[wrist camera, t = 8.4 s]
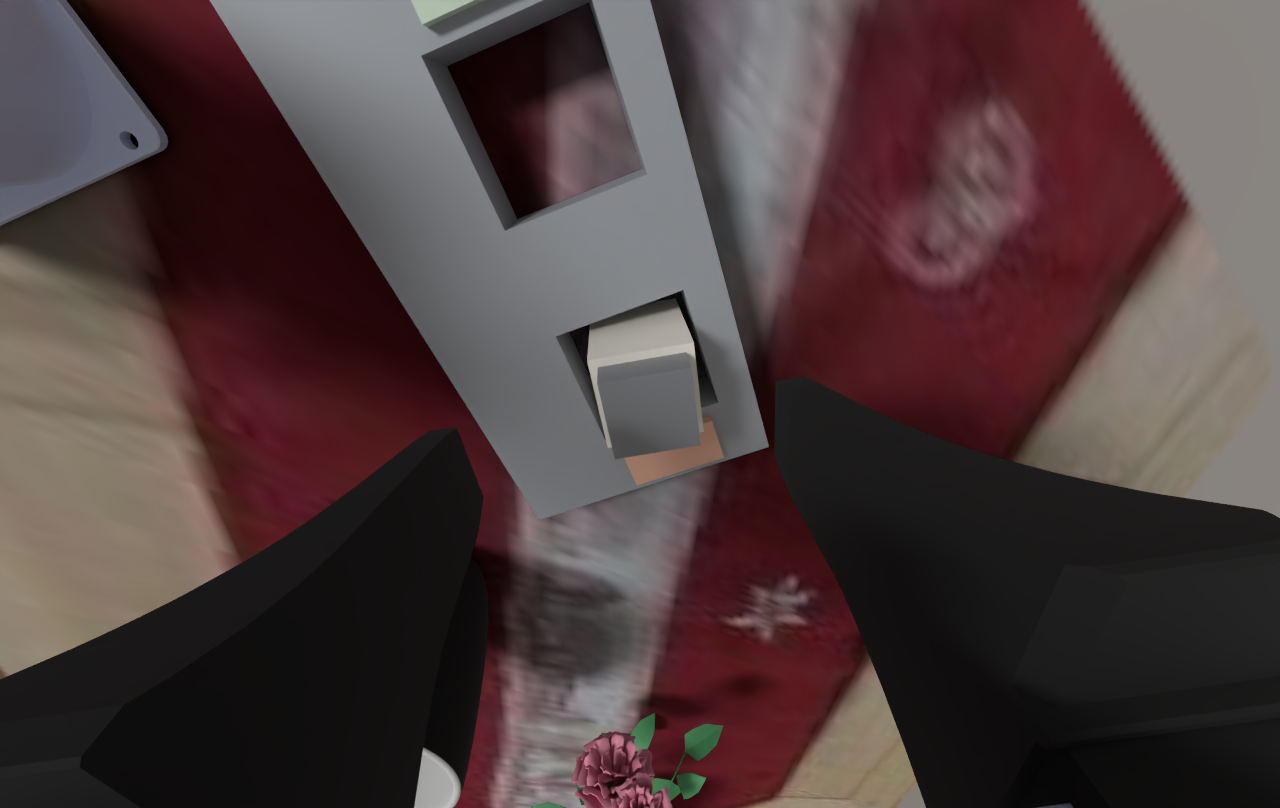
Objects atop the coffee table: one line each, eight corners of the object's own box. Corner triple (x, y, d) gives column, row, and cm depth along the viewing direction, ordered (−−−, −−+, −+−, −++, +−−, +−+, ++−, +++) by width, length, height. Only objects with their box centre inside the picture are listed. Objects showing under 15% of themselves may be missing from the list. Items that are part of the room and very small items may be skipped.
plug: (607, 387, 22) (607, 467, 17) (590, 313, 20) (585, 377, 15) (685, 374, 22) (709, 450, 17) (675, 298, 20) (700, 357, 15)
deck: (544, 485, 24) (537, 526, 22) (263, 12, 15) (193, -12, 12) (753, 417, 23) (771, 452, 21) (597, -151, 13) (595, -216, 11)
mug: (306, 543, 25) (148, 762, 17) (462, 498, 24) (381, 704, 16) (423, 667, 31) (351, 878, 22) (551, 635, 30) (529, 840, 22)
